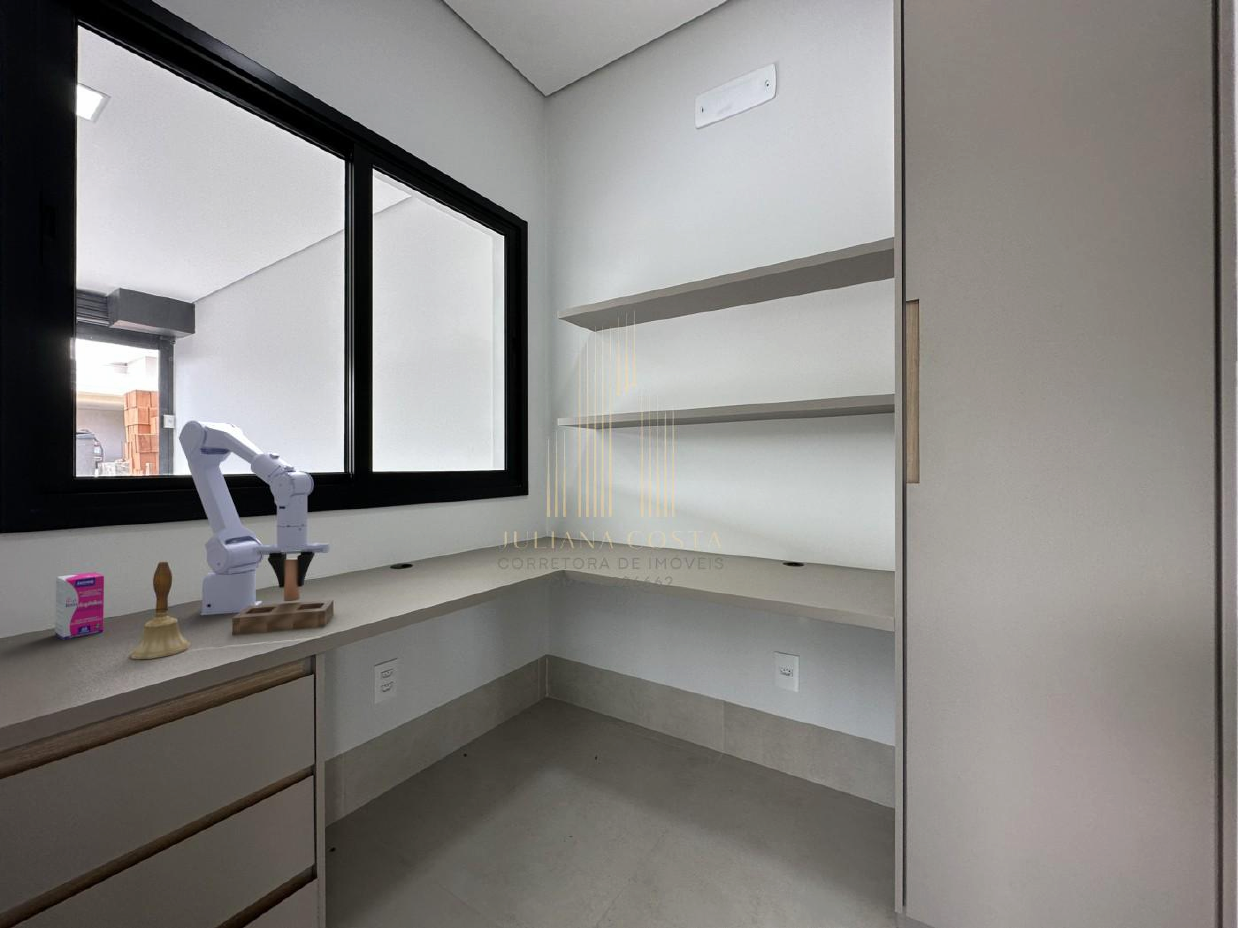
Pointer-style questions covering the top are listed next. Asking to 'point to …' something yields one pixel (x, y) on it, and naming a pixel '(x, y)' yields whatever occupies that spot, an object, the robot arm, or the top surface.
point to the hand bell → (161, 623)
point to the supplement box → (79, 605)
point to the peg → (291, 580)
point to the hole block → (282, 617)
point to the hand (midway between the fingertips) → (291, 586)
